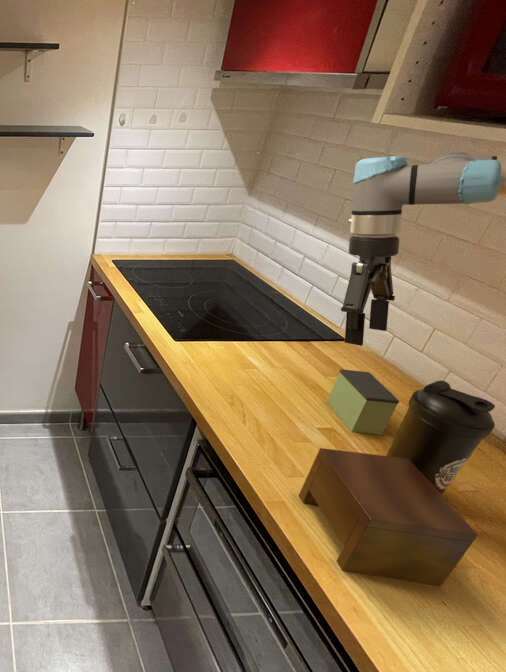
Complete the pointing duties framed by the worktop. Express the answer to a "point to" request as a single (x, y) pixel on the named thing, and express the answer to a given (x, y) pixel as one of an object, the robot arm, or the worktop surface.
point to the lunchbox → (362, 402)
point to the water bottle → (441, 431)
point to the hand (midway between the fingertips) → (366, 336)
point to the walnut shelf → (387, 516)
